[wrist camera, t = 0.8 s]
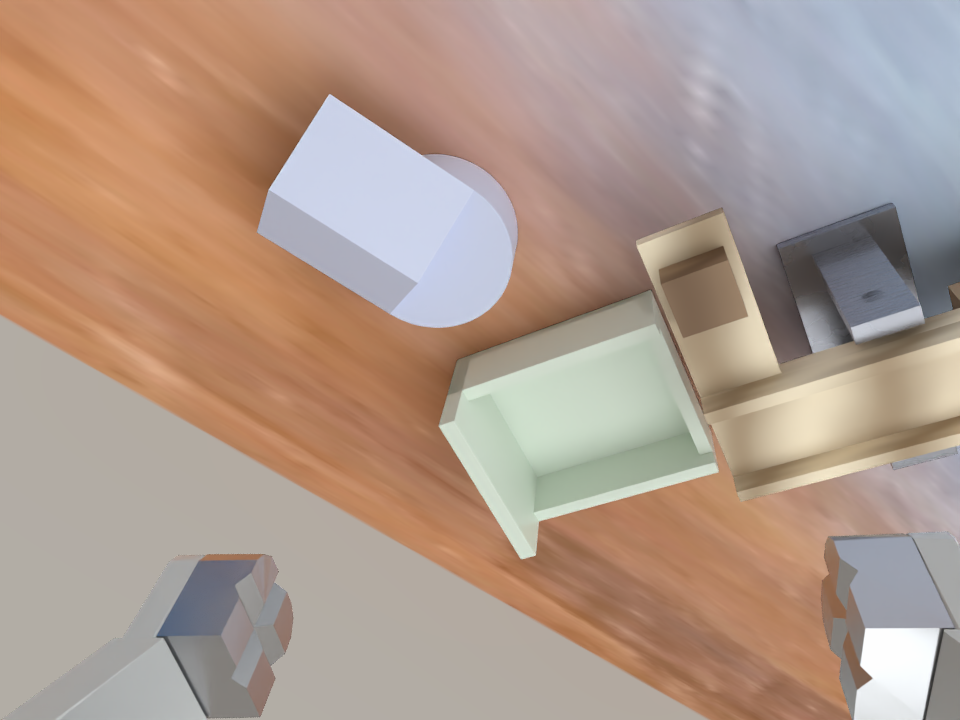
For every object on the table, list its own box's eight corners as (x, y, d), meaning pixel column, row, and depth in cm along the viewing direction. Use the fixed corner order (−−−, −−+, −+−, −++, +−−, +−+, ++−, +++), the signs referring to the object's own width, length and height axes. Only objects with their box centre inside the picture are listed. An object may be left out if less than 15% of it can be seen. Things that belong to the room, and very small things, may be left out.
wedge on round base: (277, 209, 47) (464, 325, 49) (233, 258, 41) (446, 386, 44) (347, 77, 42) (549, 213, 45) (308, 112, 36) (542, 265, 39)
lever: (1050, 54, 33) (1128, 89, 28) (1090, 344, 39) (1160, 413, 34) (633, 218, 39) (639, 270, 34) (728, 446, 45) (744, 517, 40)
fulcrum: (1022, 155, 40) (1116, 221, 33) (1051, 332, 45) (1139, 423, 37) (776, 244, 44) (811, 320, 37) (827, 397, 49) (867, 491, 41)
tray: (651, 289, 46) (658, 352, 40) (711, 431, 51) (725, 506, 45) (457, 359, 51) (438, 425, 45) (529, 484, 55) (521, 559, 49)
